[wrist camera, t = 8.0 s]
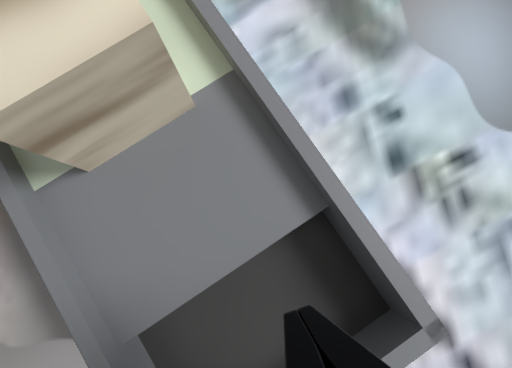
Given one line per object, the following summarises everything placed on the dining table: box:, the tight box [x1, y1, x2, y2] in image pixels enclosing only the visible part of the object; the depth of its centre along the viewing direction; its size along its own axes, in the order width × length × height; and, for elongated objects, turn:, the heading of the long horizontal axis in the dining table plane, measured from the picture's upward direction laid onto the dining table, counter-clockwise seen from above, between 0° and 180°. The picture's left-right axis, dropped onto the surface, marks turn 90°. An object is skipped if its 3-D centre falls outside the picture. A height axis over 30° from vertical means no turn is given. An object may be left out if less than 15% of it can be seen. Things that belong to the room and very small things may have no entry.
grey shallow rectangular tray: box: [0, 0, 449, 368], centre depth 20 cm, size 38×17×4 cm, turn 33°
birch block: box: [0, 0, 195, 172], centre depth 16 cm, size 10×8×8 cm
